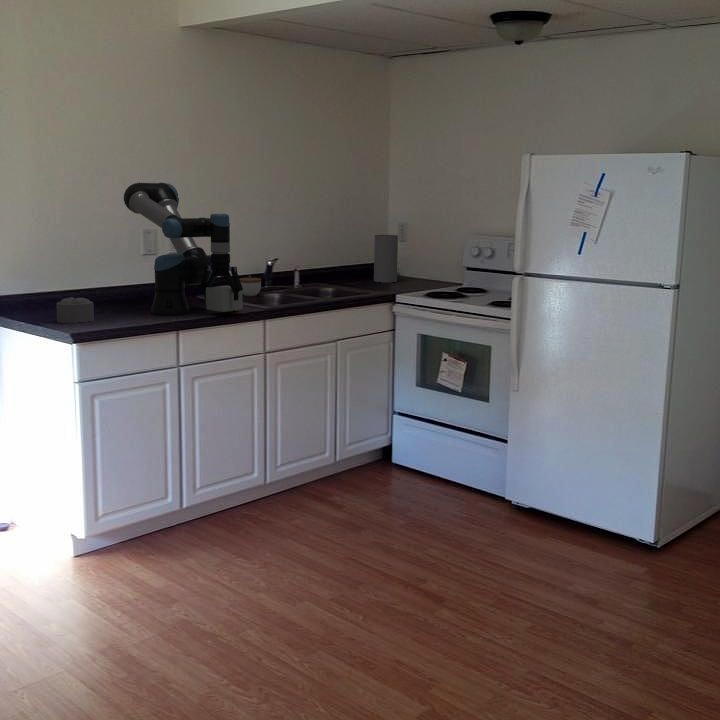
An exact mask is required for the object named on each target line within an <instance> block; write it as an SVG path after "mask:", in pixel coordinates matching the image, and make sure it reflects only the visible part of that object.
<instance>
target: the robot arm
mask: <svg viewBox="0 0 720 720" xmlns="http://www.w3.org/2000/svg"><path fill="white" fill-rule="evenodd" d="M179 202H180V198H179V193H178V191H177V188H176V187H175V186H174V185H172V184H171V183H167V182H166V183H165V182H135V183H132V184H130V185H129V186H128V187H127V188H126V189H125V191H124V193H123V203H124V206H125V207H126V208H127V209H128V210H130V211H131V212H132V213H134V214H137V215H138V214H139V215H141V216H143V217H144V218H146V219H147V220H149V221H150V222H152V223H154V224H155V225H156V226H158V227H160V229H161V231H162V233H163V235H164V237H165V238H167V239H169V240H170V242H171V244H172V245H173V247H174V249H175V251H176V253H166V254H163V255H159V256H156V258H155V260H154V267H153V269H154V291H155V292H154V297H153V301H152V305H151V308H150V310H151V314H154V315H162V316H163V315H164V316H165V315H167V316H168V315H169V316H174V315H185V314H188V313H190V305H189V302H188V299H187V296H186V293H185V292H186V291H185V290H186V289H185V286H197V285H199V288H200V289H201V290H203V293H204V294H203V295H204V297H203V298H204V299H206V287H213V286H212V285H213V284H214V282H215V280H216V279H217V278H218V277H221V278H222V277H223V278H224V279H225V280H226V282H227V283H228V286H230V287H231V289H232V290H233V292H232V293H231V295H232V309H236V308H237V300H238V292H239V291H242V290H243V288H242V285H241V282H240V277H239V273H238V267H237V266H235V265H234V266H231V265H230V264H231V254H230V253H231V244H230V243H231V241H230V239H231V238H230V237H231V234H230V233H231V232H230V231H231V230H230V228H231V227H230V226H231V223H230V215H229V214H227V213H211V214H210V216H209V217H208V218H207V217H197V218H196V217H192V218H189V217H188V218H187V217H183V218H182V217H181V215H180V213H179V211H178V208H179V207H178V206H179ZM194 238H210V253H211V254H208V255H207V253H206V252H205V250H204V248H202V247H201V246H198V245H197V243H196V241H195V239H194ZM205 307H206V308H207V305H206V304H205Z"/></svg>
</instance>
